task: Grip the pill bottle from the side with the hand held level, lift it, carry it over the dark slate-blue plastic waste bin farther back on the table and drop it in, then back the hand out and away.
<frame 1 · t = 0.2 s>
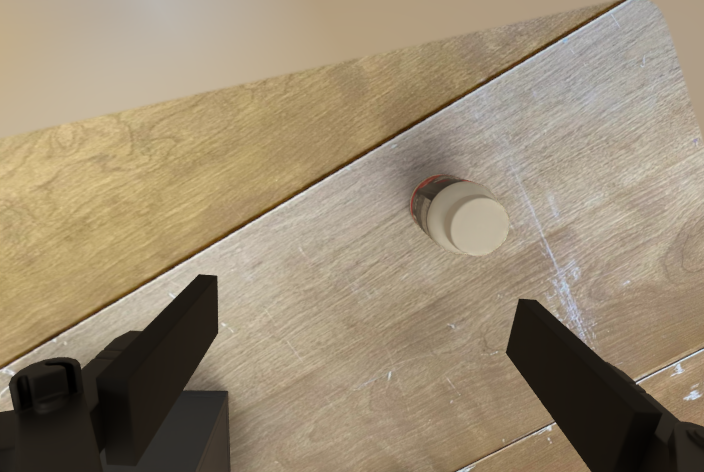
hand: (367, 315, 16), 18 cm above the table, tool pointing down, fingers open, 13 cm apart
pill bottle: (436, 202, 33), on the table
waste bin: (163, 445, 38), on the table
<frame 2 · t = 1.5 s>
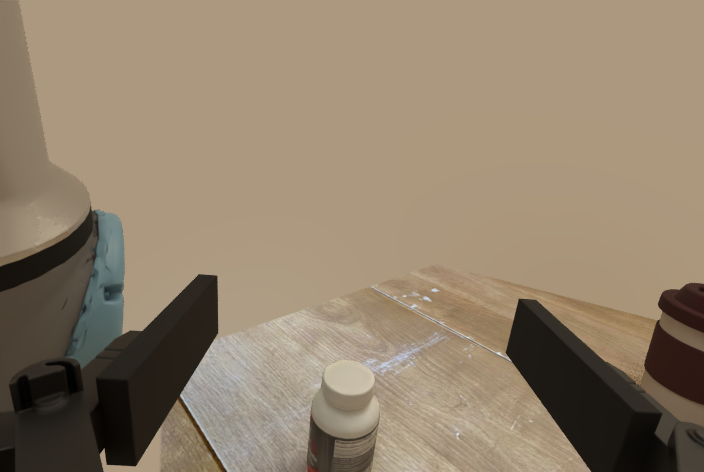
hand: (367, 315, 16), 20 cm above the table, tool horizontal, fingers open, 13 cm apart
coffee cup: (674, 414, 42), on the table
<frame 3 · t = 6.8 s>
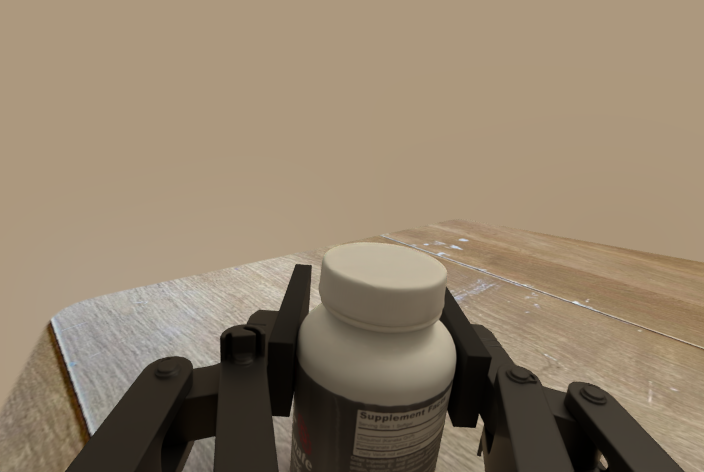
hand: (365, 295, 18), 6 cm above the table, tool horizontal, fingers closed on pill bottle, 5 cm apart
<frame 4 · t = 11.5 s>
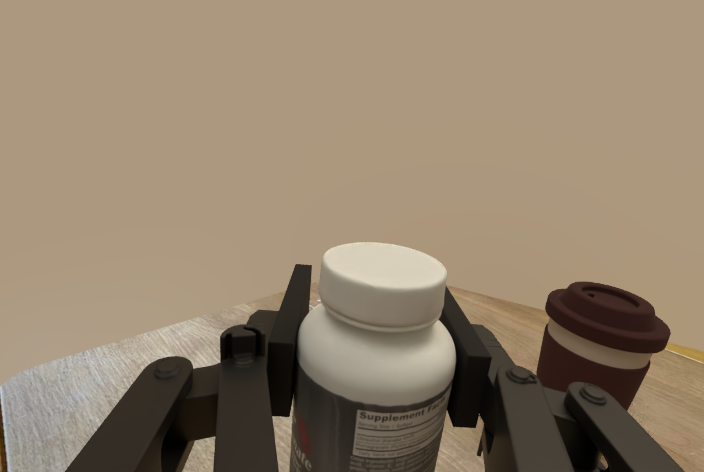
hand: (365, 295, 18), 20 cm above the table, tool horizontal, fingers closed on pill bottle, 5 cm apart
coffee cup: (567, 423, 39), on the table
when the fingers open (14 cm above the table, at t = 16.2 s): pill bottle drops 7 cm, resting on waste bin.
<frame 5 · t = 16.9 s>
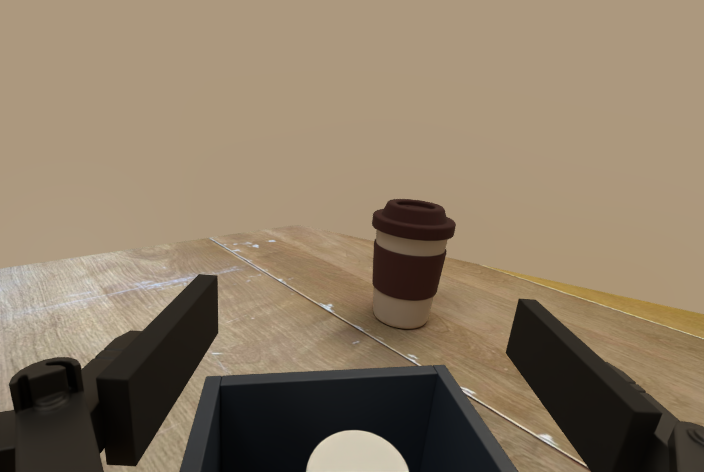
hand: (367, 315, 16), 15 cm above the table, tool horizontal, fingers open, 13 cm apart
coffee cup: (399, 317, 48), on the table
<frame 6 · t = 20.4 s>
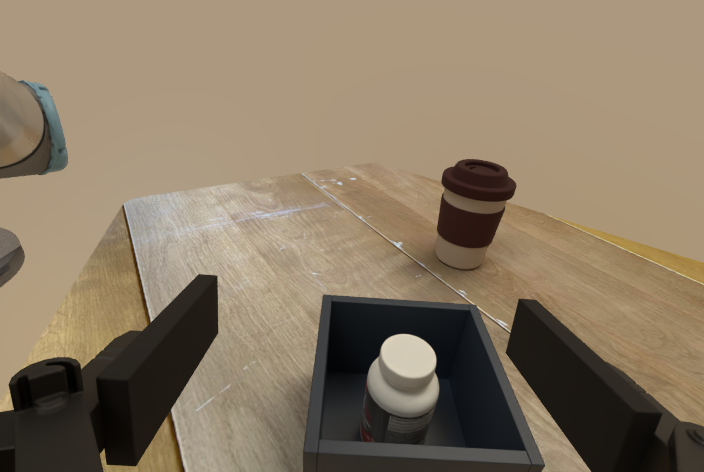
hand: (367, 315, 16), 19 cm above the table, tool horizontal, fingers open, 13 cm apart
pill bottle: (390, 436, 31), point 1 cm above the table, touching waste bin
waste bin: (392, 440, 31), on the table
coffee cup: (457, 258, 57), on the table
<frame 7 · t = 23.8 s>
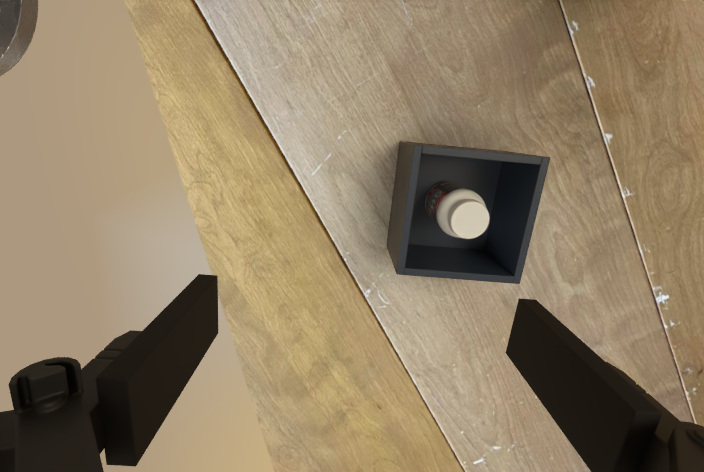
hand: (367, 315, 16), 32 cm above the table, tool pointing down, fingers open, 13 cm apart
pill bottle: (444, 201, 46), point 1 cm above the table, touching waste bin
waste bin: (444, 200, 47), on the table
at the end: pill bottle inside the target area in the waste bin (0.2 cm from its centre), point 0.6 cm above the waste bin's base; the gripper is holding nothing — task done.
